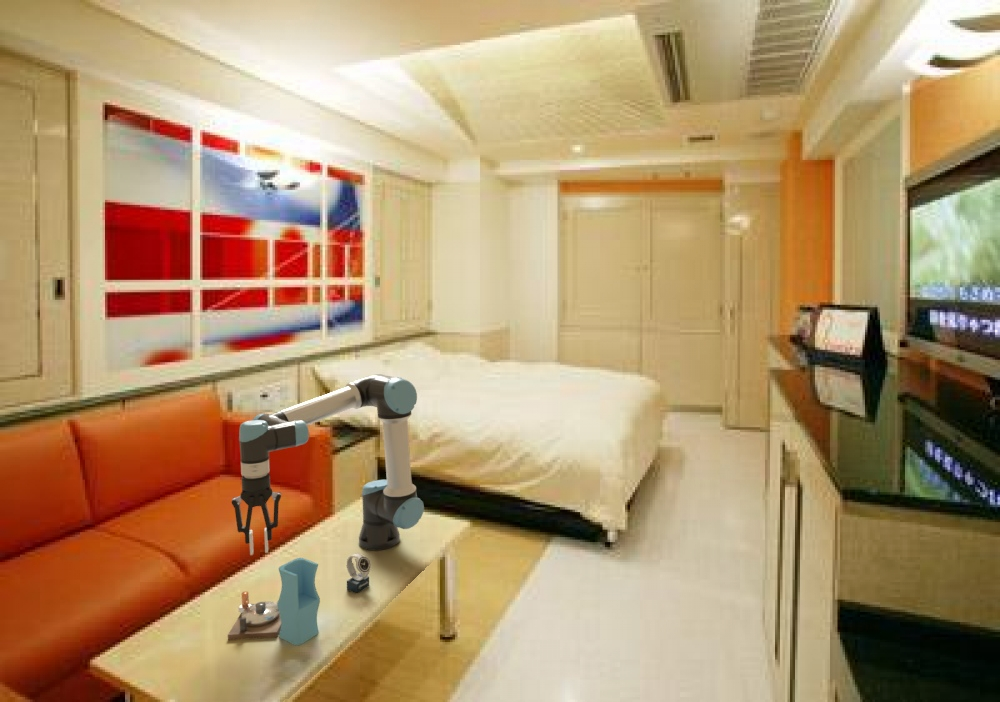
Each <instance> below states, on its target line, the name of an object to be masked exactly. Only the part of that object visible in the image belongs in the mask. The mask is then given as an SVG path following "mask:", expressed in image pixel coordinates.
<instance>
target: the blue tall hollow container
mask: <svg viewBox="0 0 1000 702" xmlns="http://www.w3.org/2000/svg"><path fill="white" fill-rule="evenodd" d="M318 567H319V563H317V562H314V561H311V560H309V559H306V558H304V557H296V558H294V559H293V560H290V561H288V562H286V563H284V564H282V565H281V566H279V567H278V572H279V576H280V581H281V591H280V595H279V598H278V601H277V602H276V603H277V607H278V610H279V613H280V617H281V630H280V632H279V635H278V638H280V639H282V640H283V641H285V642H287V643H289V644H291V645H294V646H301V645H303V644H304V643H306V642H308V641H309V640H310V639H313V638H314V637H315V636H317V635H318V634H319V633H320V632H319V626H318V613H319V606H320V603H321V598H320V595H319V594H318V591H317V588H316V575H317V570H318Z"/></svg>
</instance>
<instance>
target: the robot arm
mask: <svg viewBox="0 0 1000 702" xmlns="http://www.w3.org/2000/svg"><path fill="white" fill-rule="evenodd" d="M417 400H418V393H417V390H416V388H415V386H414V384H413V383H412V382H410V381H409V380H407V379H404V378H402V377H398V376H397V377H396V376H391V375H385V374H373V375H372V374H371V375H368V376H365V377H363V378H360V379H356V380H353V381H351V382H348V383H346V384H345V387H343V388H339V389H337V390H334V391H332V392H329V393H327V394H324V395H321V396H318V397H314V398H313V399H310V400H309V399H308V400H307V401H304V402H301V403H299V404H296V405H292V406H290V407H288V408H286V409H282V410H278V411H275V412H273V413H270V414H269V413H259V414H257V415H255V417H253V419H251V420H247V421H244V422H242V423H241V424H240V426H239V433H238V435H239V437H238V441H239V453H240V474H241V476H242V477H241V493H240V495H239V496H236V497H235V496H234V497H232V498H231V505H232V507H233V508H234V513H235V514H234V515H235V521H236V528H237V532H238V533H243V534H244V542H245V544H249V555H250V556H253V555H254V536H253V535H254V534H253V529H250V528H251V522H252V516H253V508H255V507H260V508H261V511H262V515H263V518H264V522H265V527H264V533H263V534H264V536H263V537H264V553H265V554H268V553H269V541H272V540H273V539H272V538H273V534H272V532H273V531H272V530H273V529H274V528H277V527H278V526H279V525H278V524H279V503H280V500H281V498H282V493H281V492H280V491H278V492H276V491H273V489H272V488H271V474H270V468H271V467H270V452H274V451H280V450H283V449H284V450H285V449H288V448H289V449H291V448H294V447H296V448H297V447H298V446H302V445H305V444H306V443H307V442H308V441H309V438H310V431H309V427H308V426H309V425H312V424H314V423H316V422H319V421H321V420H324V419H326V418H329V417H332V416H334V415H337V414H340V413H342V412H345V411H347V410H350V409H354V410H358V409H360V408H363V407H374V408H376V412H377V418H378V419H379V420H380V421H382V430H383V445H384V457H385V458H384V460H385V461H384V462H385V472H386V473H385V474H386V479H378V480H372V481H369V482H367V483H365V484H364V485H363V486H362V492H361V493H362V494H361V496H362V520H363V521H362V525H361V527H360V532H359V534H358V535H359V536H358V545H359V547H361V548H362V549H364V550H369V551H382V550H387V549H390V548H393V547H395V546H396V545H397V544H399V542H400V541H401V536H400V535H401V534H400V531H399V529H403V530H408V529H411V528H413V527H415V526H416V525H417V524H418V523H419V521H420V519H422V517H423V514H424V508H425V506H424V501H423V500H421V498H419V497H418V495H417V494H418V493H417V486H416V485H415V484H413V481H412V472H411V471H412V469H411V468H412V467H411V456H410V441H409V439H410V437H409V425H408V423H409V421H408V420H409V419H410V418H411V416H412V411H413V410H414V408H415V405H417ZM271 497H272V500H273V521H272V522H271V517H270V513H269V510H268V506H267V502H268V501H269V499H270V498H271ZM242 501H243V502H244V503H245V504H246V505H247V513H246V520H245V526H243V525H244V524H243V517H242V509H241V503H242ZM398 528H399V529H398Z"/></svg>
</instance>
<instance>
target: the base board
mask: <svg viewBox="0 0 1000 702" xmlns="http://www.w3.org/2000/svg"><path fill="white" fill-rule="evenodd" d="M250 604H251V605H253V604H254V603H250ZM280 630H281V617H280V614H279V616H278V617H277V618H276V619H275V620H274V621H272V622H270V623H268V624H265V625H261V626H247V625H246V617H242V613H241V612H240V613H239V616H238V617H237V619H236V621H234V623H233V625H232V627H231V629H230V630H229V632H228V634H227V640H228V641H232V640H233V641H234V640H235V641H236V640H249V639H250V640H251V639H270V638H271V639H273V638H279V634H280Z"/></svg>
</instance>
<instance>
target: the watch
mask: <svg viewBox="0 0 1000 702" xmlns="http://www.w3.org/2000/svg"><path fill="white" fill-rule="evenodd" d="M353 558H354V560H355V566H354V562H353ZM371 565H372V564H371V560H370V559H369V558H368V557H367V556H365V555H364V554H361V553H358V552H357V553H354V554H352V555H350V556H349V557H348V558H347V561H346V568H347V572H348V574H349V576H350V578H349V579H347V580H346V590H347V591H349V592H352V593H353V594H356V595H357V594H359V593H361V592H362V591H364V590H366V589H367V588H368V587H370V576H369V573H370V570H371ZM355 567H356V568H355ZM357 572H359V573H357Z"/></svg>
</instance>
